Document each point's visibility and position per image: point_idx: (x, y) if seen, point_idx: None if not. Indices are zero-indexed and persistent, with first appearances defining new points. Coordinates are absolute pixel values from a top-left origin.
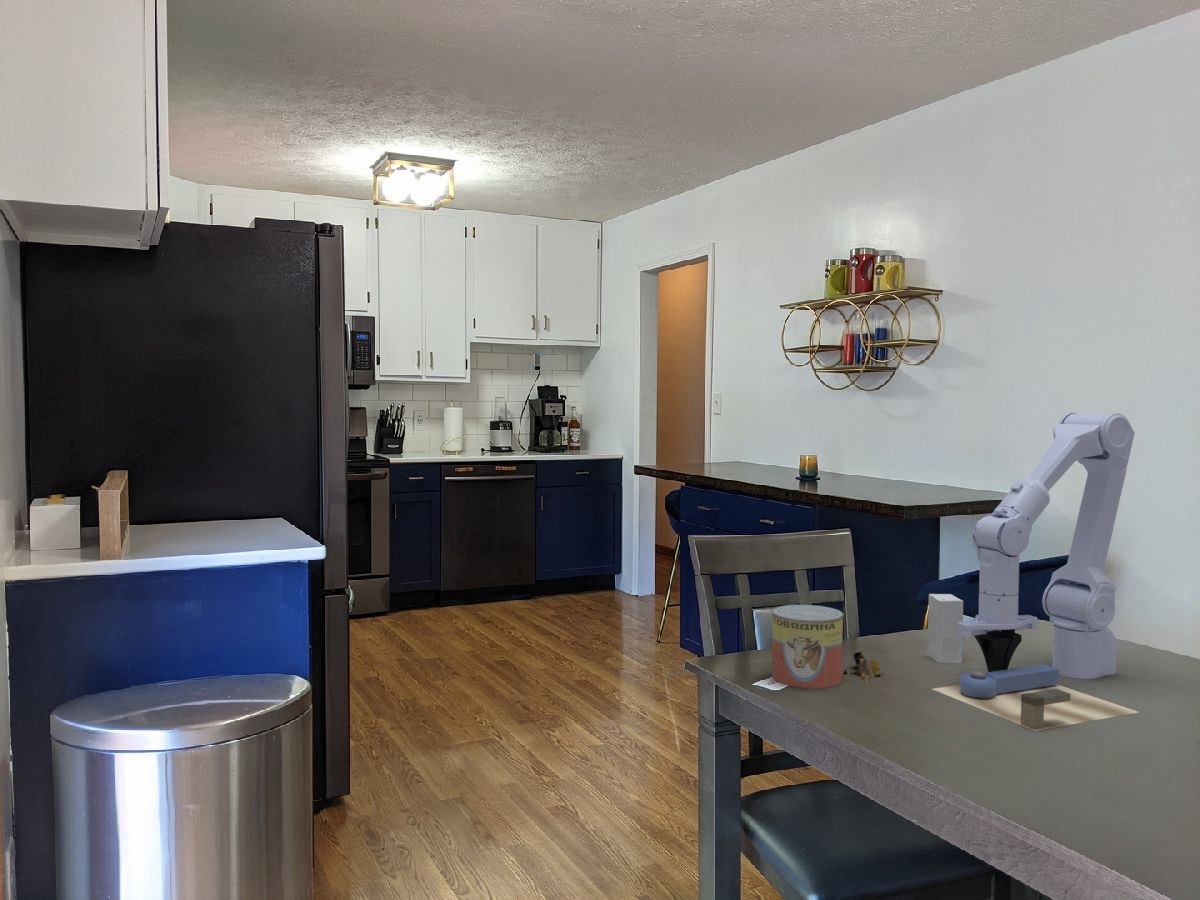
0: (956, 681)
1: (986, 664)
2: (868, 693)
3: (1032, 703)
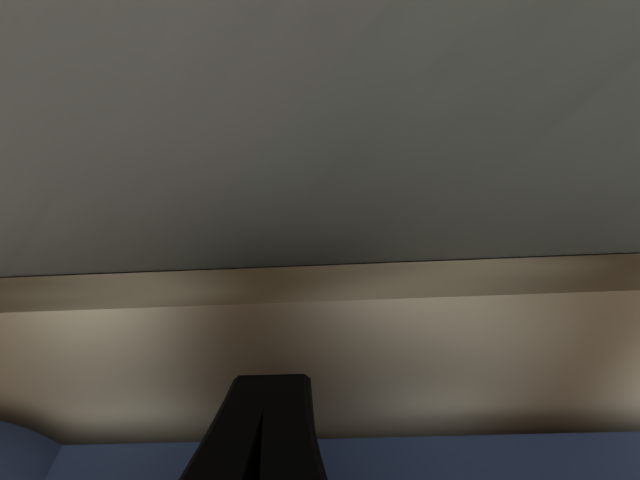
0: (124, 31)
1: (196, 451)
2: None
3: None
